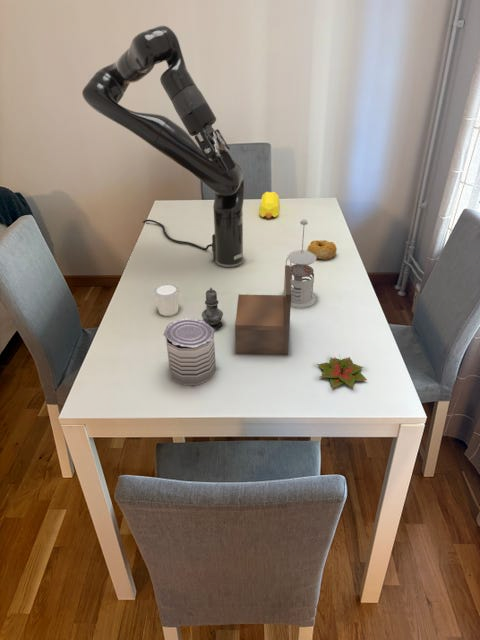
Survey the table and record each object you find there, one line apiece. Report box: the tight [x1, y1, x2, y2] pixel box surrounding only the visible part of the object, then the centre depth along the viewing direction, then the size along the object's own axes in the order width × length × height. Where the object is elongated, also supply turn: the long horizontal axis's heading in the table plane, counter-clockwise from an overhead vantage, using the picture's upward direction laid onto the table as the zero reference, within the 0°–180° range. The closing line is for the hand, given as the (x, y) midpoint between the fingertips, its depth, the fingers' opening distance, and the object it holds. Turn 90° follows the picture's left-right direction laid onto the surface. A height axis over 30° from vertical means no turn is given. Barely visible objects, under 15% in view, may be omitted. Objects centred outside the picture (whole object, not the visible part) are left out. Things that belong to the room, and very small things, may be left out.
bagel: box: [306, 239, 338, 261], centre depth 166 cm, size 10×11×5 cm
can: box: [162, 317, 217, 386], centre depth 115 cm, size 11×11×12 cm
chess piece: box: [201, 287, 224, 331], centre depth 130 cm, size 6×6×12 cm
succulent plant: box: [316, 354, 368, 389], centre depth 115 cm, size 12×12×5 cm
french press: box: [285, 218, 317, 309], centre depth 138 cm, size 10×12×25 cm
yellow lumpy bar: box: [258, 191, 280, 219], centre depth 196 cm, size 18×7×8 cm
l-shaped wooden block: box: [234, 264, 292, 356], centre depth 123 cm, size 13×14×18 cm
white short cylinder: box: [153, 283, 180, 317], centre depth 138 cm, size 7×7×7 cm
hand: (228, 170), depth 121 cm, fingers open, 8 cm apart
